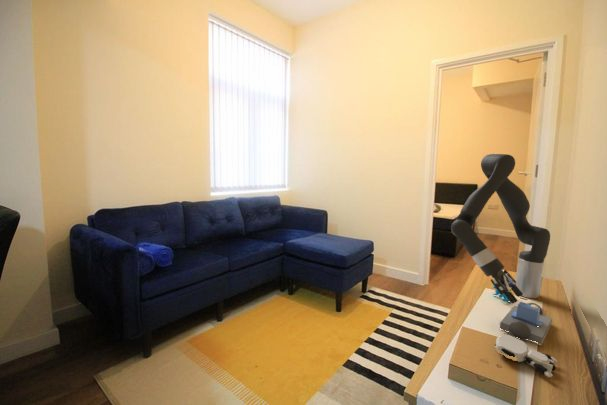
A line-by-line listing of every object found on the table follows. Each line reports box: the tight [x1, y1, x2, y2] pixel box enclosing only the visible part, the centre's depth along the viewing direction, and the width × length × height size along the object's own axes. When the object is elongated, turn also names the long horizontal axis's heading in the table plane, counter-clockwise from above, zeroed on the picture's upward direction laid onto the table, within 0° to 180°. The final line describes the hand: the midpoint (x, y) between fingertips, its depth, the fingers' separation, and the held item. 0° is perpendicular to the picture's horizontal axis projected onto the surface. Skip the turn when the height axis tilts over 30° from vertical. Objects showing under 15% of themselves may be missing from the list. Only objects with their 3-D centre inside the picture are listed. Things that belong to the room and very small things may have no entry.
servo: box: [511, 301, 543, 327], centre depth 106 cm, size 9×4×9 cm, turn 42°
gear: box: [492, 285, 512, 302], centre depth 131 cm, size 11×6×10 cm
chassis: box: [499, 302, 553, 346], centre depth 106 cm, size 12×23×6 cm, turn 131°
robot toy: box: [493, 331, 558, 378], centre depth 88 cm, size 12×4×15 cm
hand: (517, 298), depth 108 cm, fingers open, 8 cm apart
